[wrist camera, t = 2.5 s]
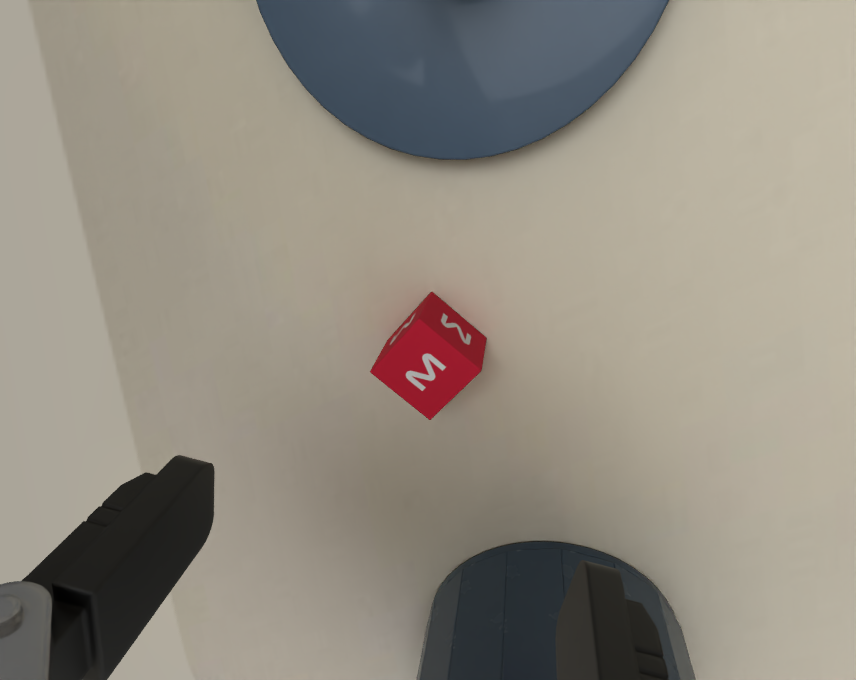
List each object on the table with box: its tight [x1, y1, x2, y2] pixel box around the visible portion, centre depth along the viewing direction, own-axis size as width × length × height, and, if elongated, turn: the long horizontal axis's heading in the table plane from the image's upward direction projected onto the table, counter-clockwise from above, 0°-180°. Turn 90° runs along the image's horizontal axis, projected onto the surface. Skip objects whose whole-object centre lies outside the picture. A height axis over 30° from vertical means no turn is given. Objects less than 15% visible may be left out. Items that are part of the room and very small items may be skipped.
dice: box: [370, 292, 487, 420], centre depth 22 cm, size 3×3×3 cm
